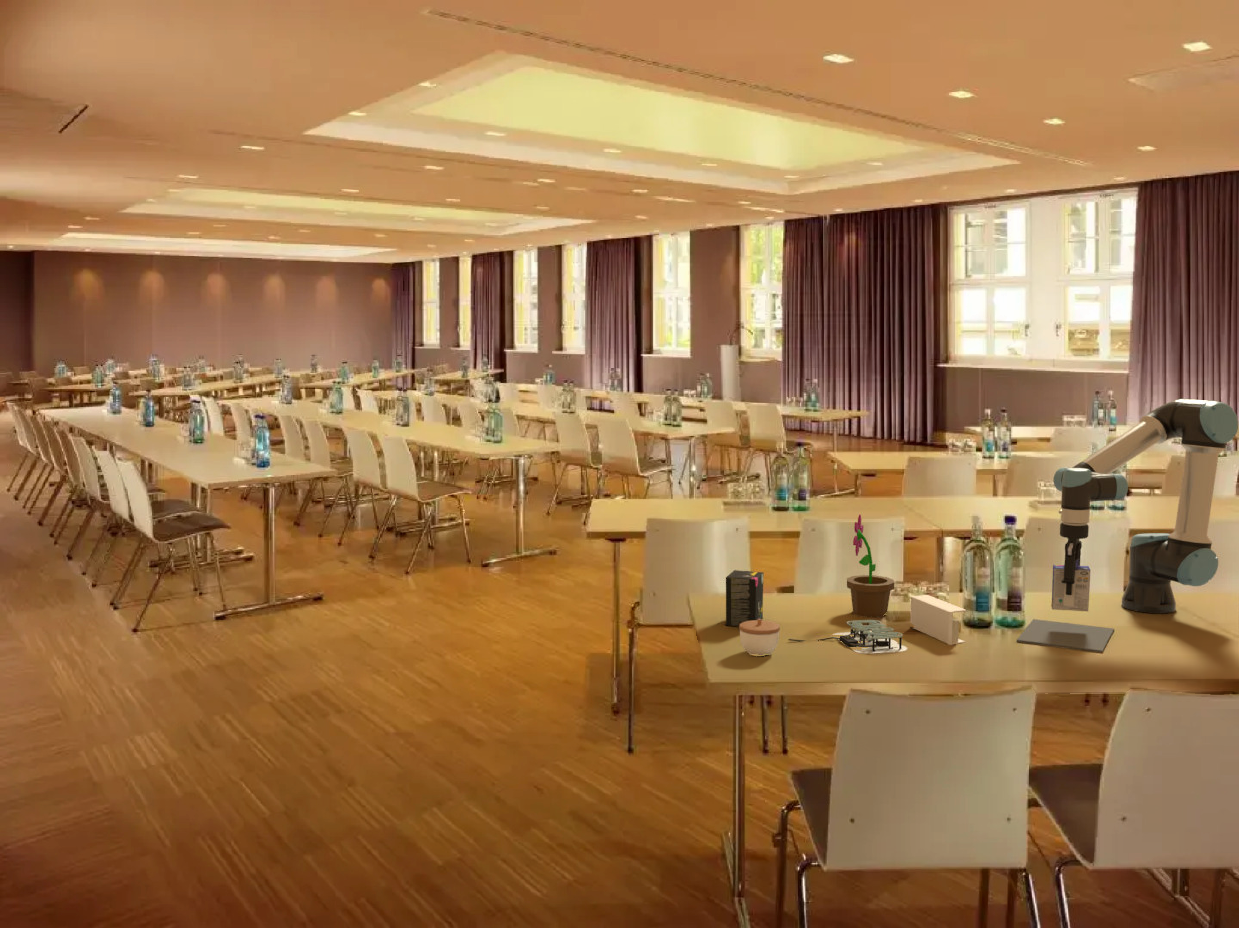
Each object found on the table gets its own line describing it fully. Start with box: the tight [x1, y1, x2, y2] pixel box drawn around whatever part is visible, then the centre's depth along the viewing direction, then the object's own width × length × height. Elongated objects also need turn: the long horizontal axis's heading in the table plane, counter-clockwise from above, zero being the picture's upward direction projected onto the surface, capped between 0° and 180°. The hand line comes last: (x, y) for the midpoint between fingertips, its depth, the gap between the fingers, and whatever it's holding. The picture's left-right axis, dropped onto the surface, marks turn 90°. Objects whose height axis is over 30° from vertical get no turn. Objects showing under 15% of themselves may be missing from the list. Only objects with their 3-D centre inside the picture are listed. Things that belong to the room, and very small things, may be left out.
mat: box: [1016, 618, 1115, 654], centre depth 321 cm, size 25×22×1 cm
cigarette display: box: [909, 594, 967, 646], centre depth 323 cm, size 20×6×9 cm, turn 19°
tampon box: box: [725, 569, 764, 627], centre depth 337 cm, size 11×9×15 cm
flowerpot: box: [846, 514, 895, 619], centre depth 346 cm, size 14×14×30 cm
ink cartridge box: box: [1050, 560, 1091, 612], centre depth 325 cm, size 10×6×14 cm, turn 75°
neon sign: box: [788, 619, 908, 655], centre depth 315 cm, size 21×4×29 cm
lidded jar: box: [738, 619, 781, 655], centre depth 306 cm, size 11×11×9 cm
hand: (1070, 602), depth 326 cm, fingers closed on ink cartridge box, 6 cm apart
